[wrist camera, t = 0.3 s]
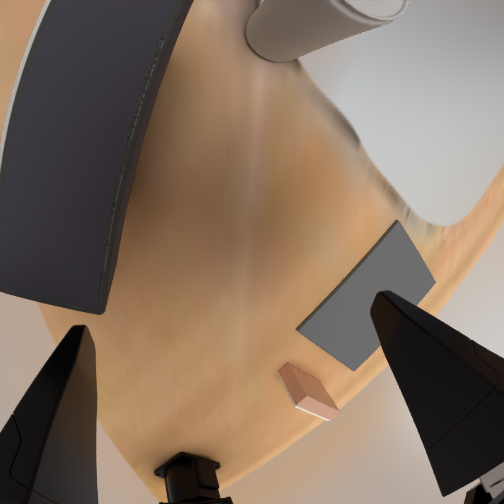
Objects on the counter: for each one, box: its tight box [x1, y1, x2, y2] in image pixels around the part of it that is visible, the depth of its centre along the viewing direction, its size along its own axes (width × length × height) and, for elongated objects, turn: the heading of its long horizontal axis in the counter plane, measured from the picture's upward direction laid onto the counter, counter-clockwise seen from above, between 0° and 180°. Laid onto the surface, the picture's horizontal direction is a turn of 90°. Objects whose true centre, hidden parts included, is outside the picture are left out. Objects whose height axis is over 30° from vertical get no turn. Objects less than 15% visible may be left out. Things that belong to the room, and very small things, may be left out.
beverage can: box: [246, 0, 409, 62], centre depth 14 cm, size 5×5×12 cm
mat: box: [296, 220, 436, 371], centre depth 31 cm, size 14×11×1 cm
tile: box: [277, 363, 340, 421], centre depth 30 cm, size 2×6×5 cm, turn 46°
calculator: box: [0, 0, 194, 315], centre depth 13 cm, size 11×4×15 cm, turn 162°
